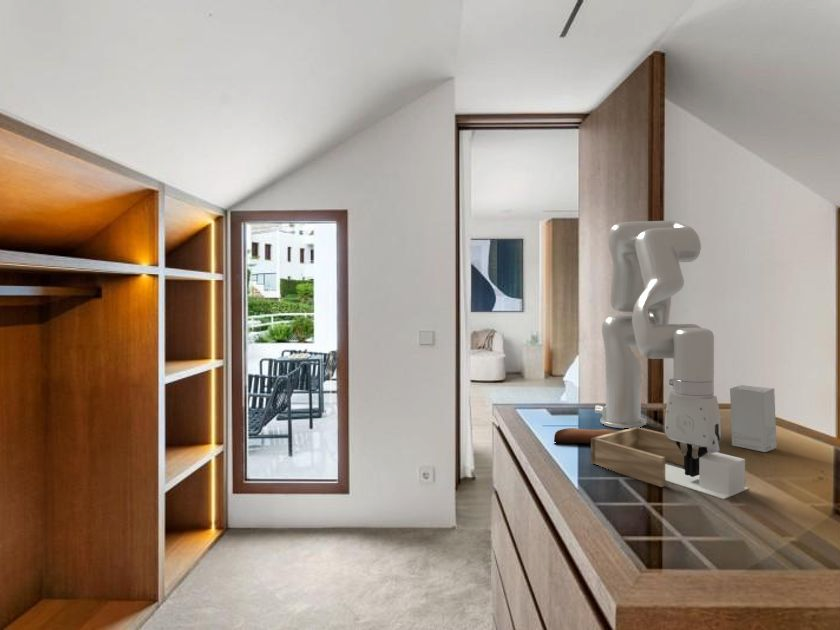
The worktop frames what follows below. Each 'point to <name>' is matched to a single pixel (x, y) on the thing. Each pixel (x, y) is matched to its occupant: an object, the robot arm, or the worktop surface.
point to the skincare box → (753, 418)
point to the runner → (690, 481)
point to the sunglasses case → (579, 435)
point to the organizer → (636, 454)
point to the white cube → (722, 473)
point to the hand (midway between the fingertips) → (692, 474)
